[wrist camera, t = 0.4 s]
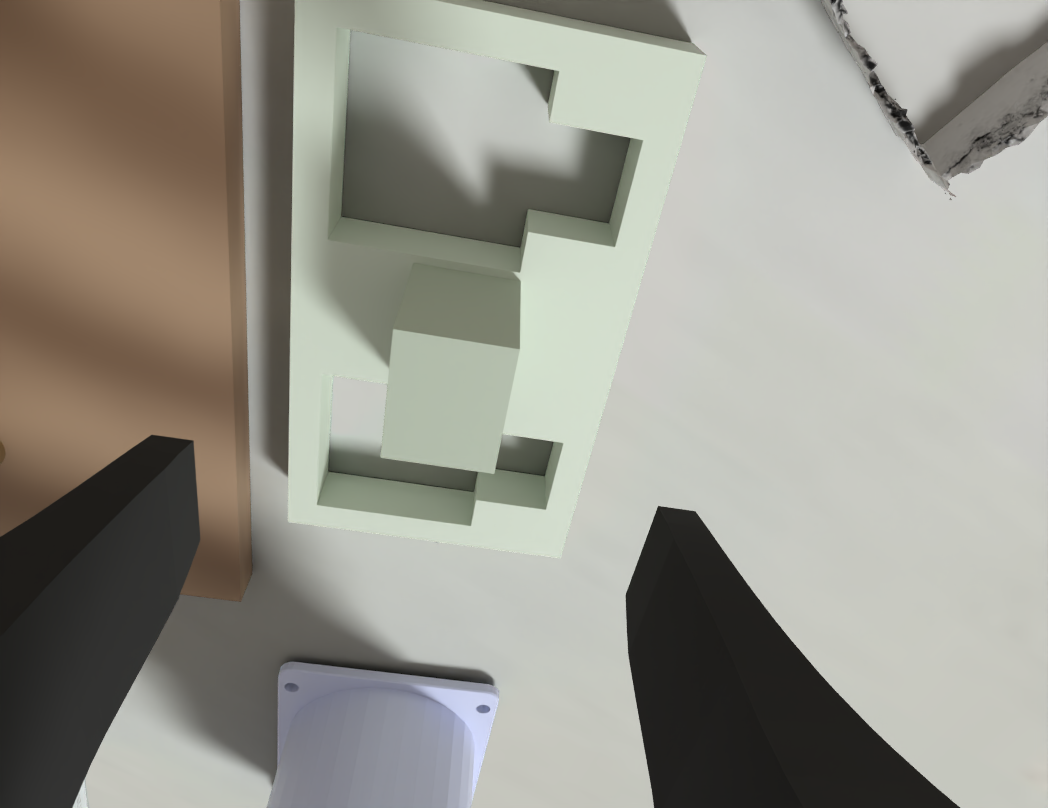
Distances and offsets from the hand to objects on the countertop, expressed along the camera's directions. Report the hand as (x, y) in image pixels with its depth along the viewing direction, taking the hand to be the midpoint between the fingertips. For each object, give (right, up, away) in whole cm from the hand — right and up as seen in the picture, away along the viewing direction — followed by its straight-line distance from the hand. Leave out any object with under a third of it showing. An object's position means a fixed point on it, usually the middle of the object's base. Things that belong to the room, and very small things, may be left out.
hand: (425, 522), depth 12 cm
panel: (0, +4, +8) cm, 9 cm away
